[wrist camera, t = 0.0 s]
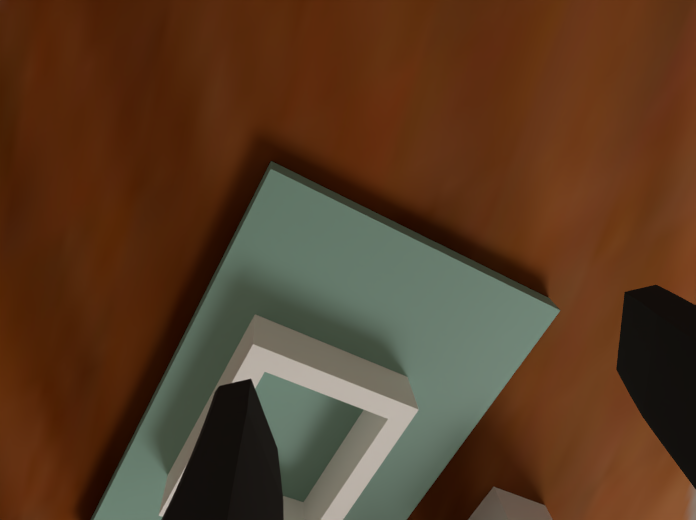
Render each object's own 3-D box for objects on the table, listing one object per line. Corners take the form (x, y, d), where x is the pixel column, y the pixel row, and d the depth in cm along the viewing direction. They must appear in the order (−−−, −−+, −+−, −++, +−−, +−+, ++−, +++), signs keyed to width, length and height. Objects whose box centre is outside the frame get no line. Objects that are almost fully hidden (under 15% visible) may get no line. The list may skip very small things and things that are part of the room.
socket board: (332, 597, 29) (338, 660, 26) (85, 529, 26) (63, 593, 23) (549, 298, 24) (585, 338, 21) (271, 160, 20) (270, 186, 17)
